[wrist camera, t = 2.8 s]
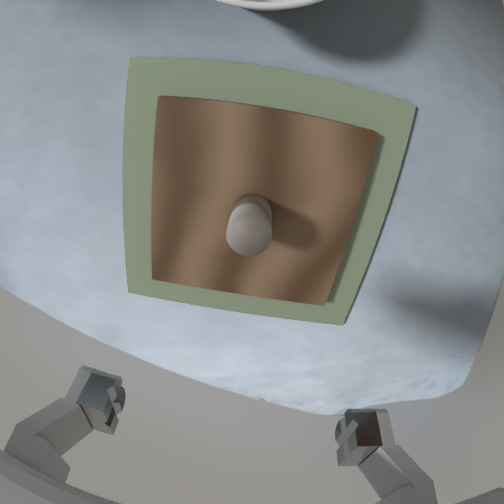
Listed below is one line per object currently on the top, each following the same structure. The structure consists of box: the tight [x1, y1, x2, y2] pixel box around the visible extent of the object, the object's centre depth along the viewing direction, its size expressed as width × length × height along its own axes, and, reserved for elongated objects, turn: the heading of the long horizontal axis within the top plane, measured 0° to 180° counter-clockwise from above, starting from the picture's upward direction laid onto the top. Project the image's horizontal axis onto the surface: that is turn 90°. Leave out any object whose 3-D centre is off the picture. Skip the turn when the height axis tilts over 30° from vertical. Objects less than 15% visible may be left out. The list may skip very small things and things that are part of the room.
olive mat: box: [123, 57, 416, 325], centre depth 25 cm, size 22×22×1 cm
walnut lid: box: [151, 95, 378, 306], centre depth 23 cm, size 16×16×5 cm
